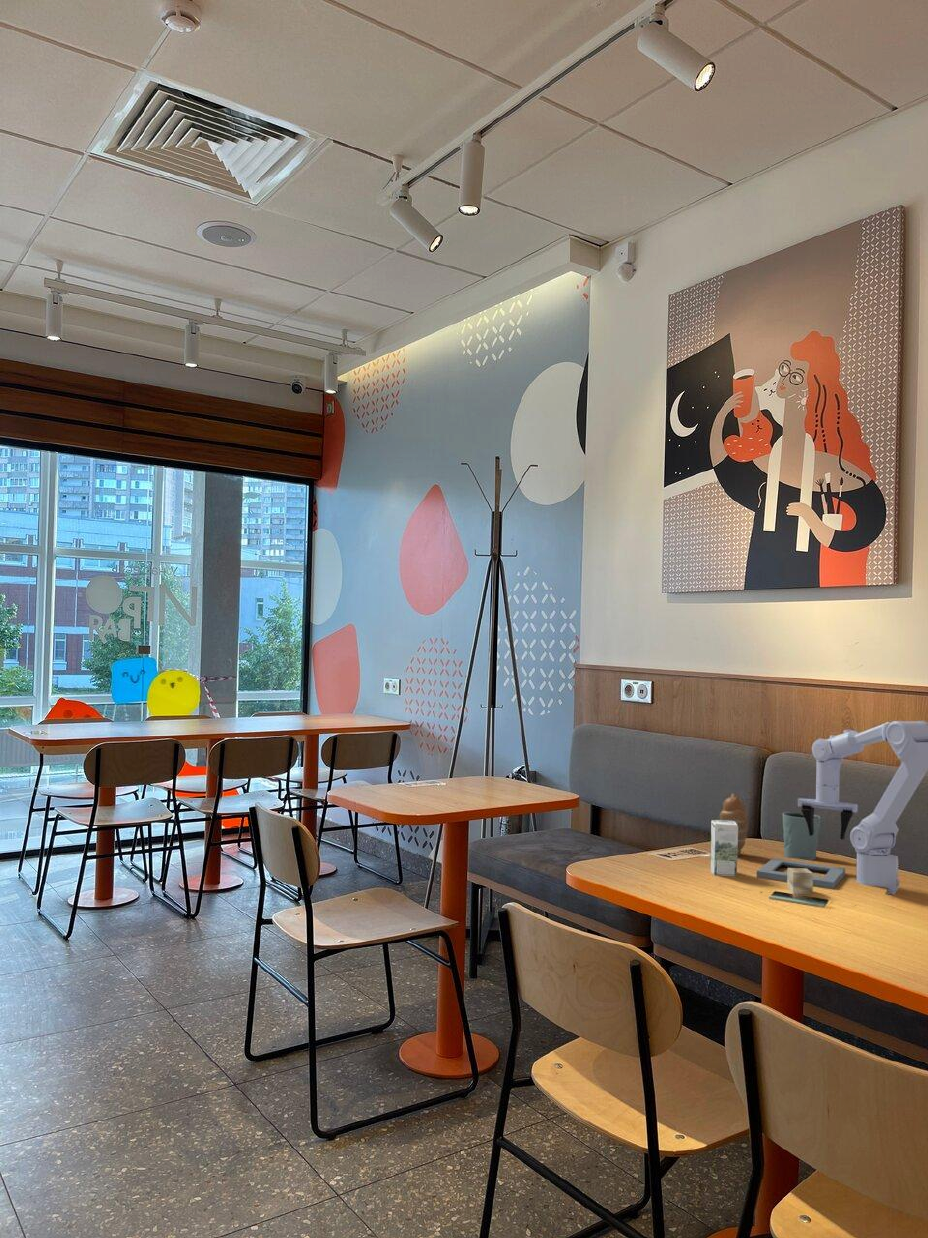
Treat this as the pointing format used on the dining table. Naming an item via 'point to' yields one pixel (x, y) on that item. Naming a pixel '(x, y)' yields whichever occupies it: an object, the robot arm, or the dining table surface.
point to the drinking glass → (799, 836)
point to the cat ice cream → (736, 818)
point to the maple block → (800, 882)
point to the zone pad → (788, 898)
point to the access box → (826, 882)
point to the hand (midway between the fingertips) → (826, 836)
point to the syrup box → (724, 848)
